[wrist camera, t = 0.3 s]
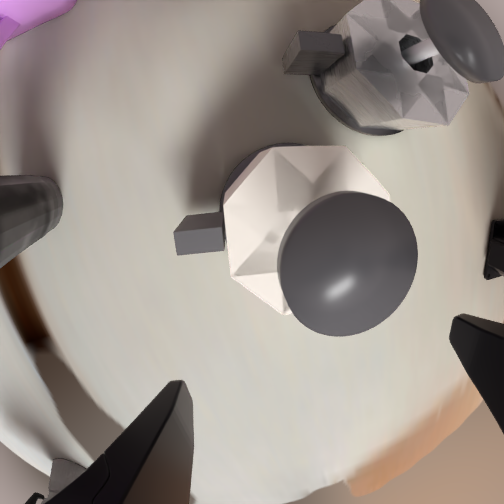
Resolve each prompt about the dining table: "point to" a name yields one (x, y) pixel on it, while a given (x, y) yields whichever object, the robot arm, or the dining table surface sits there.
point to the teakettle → (28, 15)
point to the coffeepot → (59, 478)
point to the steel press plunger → (460, 39)
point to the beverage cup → (26, 212)
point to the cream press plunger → (346, 262)
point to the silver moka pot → (377, 70)
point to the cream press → (271, 209)
